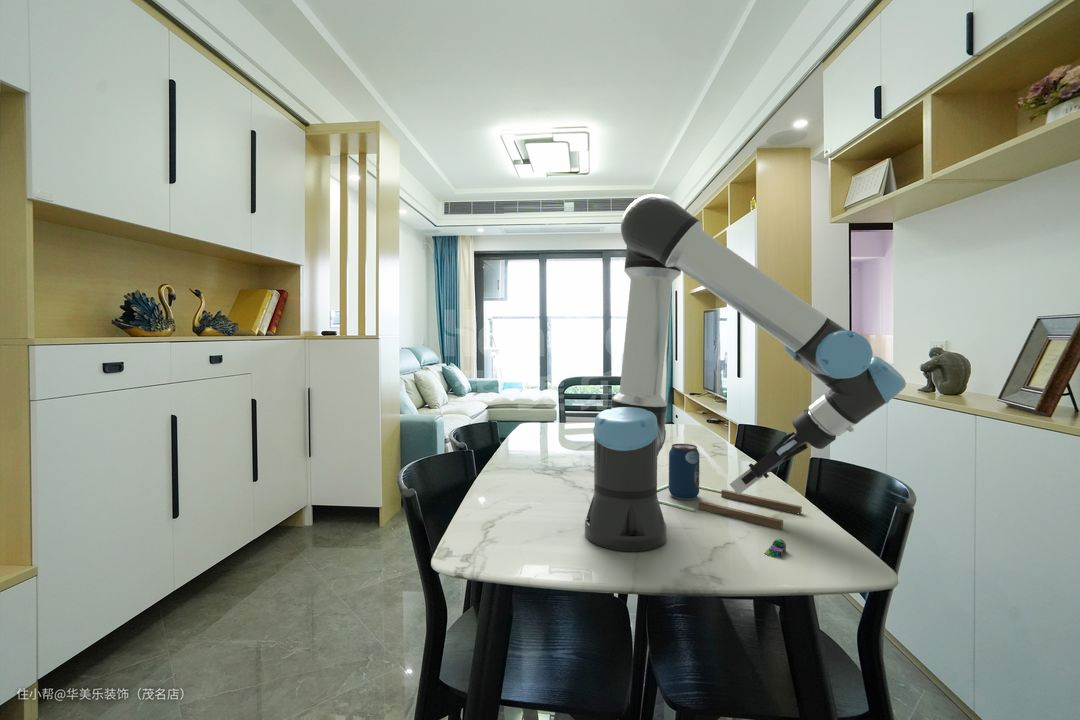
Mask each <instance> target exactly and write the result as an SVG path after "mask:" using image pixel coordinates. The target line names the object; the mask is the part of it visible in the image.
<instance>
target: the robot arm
mask: <svg viewBox="0 0 1080 720" xmlns="http://www.w3.org/2000/svg"><path fill="white" fill-rule="evenodd" d="M620 222H621V224H620V232H621V236H622V240H623V242H624V243H625V245H626V252H625V261H624V272H625V274H626V275H627V276H628V277H629V279H630V283H629V292H628V293H629V295H628V303H627V304H628V305H627V315H626V324H625V332H624V333H625V334H624V344H623V345H624V346H623V352H622V353H623V354H622V364H621V374H620V383H619V384H620V385H619V386H620V387H619V391H618V392H616V394H615V395H613V396H612V397H611V404H610V409H609V408H608V409H604V410H602V411H600V412H599V413H598V414H597V415H596V416H595V420H594V426H593V430H592V431H593V437H594V439H593V440H594V441H593V443H594V444H593V445H594V446H593V449H594V452H593V455H594V457H593V460H594V461H593V465H594V466H593V470H594V473H593V474H594V475H593V478H594V479H593V480H594V481H593V483H594V485H593V486H594V487H593V488H594V492H593V495H592V499H591V502H590V505H589V507H588V512H587V513H586V518H585V519H584V520H585V521H584V535H585V538H587V539H588V541H590V542H591V543H592V544H594V545H597V546H600V547H602V548H605V549H609V550H613V551H620V552H645V551H651V550H654V549H657V548H660V547H661V546H662V545H664V544H665V543H666V541H667V524H666V521H665V518H664V515H663V512H662V509H661V505H660V503H659V501H658V500H659V498H658V491H657V488H658V457H659V453H660V452H661V450H662V449H663V447H664V444H665V441H666V435H667V433H666V432H667V431H666V430H667V429H666V418H667V408H668V407H667V406H668V404H667V402H666V401H665V399H664V398H663V397H662V394H661V393H662V382H663V375H664V373H663V372H664V365H665V355H666V346H667V345H666V343H667V336H668V335H667V334H668V328H669V327H668V325H669V317H670V306H671V298H672V297H671V296H672V288H673V287H672V286H673V282H674V281H675V280H676V279H677V278H679V276H681V275H682V272H683V274H685V275H687V276H688V277H690V278H691V279H692V280H694V281H695V282H697V284H699V285H701V287H704V288H705V289H707V290H708V291H709V292H711V293H712V294H713V295H714V296H715V297H717V298H718V299H720V300H721V301H723V302H724V303H726V304H727V305H728V306H730V307H732V309H734V310H735V311H736V312H738V313H739V314H741V315H742V316H744V317H745V318H746V319H747V320H749V321H751V322H752V323H753V324H755V325H756V326H758V328H760V329H762V330H763V331H764V332H766V333H768V335H770V336H772V337H773V338H775V340H777V341H778V342H780V343H781V344H782V345H784V346H783V348H784V350H785V352H786V353H787V354H788V355H789V356H791V357H792V358H793V360H794V361H795V362H798V363H799V365H801V366H802V367H804V368H805V369H806V370H807V371H808V372H810V373H811V374H812V375H814V377H816V378H817V379H818V380H819V381H821V382H822V383H823V384H824V385H825V386H826V387H827V388H829V390H828V391H827V392H826V393H824V394H823V395H821V396H820V397H818V398H817V399H816V400H815V401H813V402H812V403H811V404H809V406H808V409H804V410H803V411H801V412H800V413H799V414H798V415H796V416H795V417H794V418H793V419H792V426H793V428H794V429H795V430H796V432H794V431H793V432H791V433H788V434H786V435H785V436H784V437H783V438H782V440H780V442H778V443H777V444H776V445H775V446H774V447H773V448H772V449H771V450H770V451H769V452H767V453H766V454H765V455H764V456H762V457H761V458H760V459H759V460H758V461H756V462H755V463H754V464H753V463H750V464H748V465H747V466H748V468H749V469H747V470H745V471H744V472H743V473H742V474H741V475H740V476H738V477H737V478H736V479H734V480H733V481H731V483H729V485H730V487H731V488H732V489H733V490H734V492H736V493H737V494H740V493H743V492H745V491H746V490H747V489H749V488H750V487H752V485H754V484H755V483H756V482H758V481H759V480H761V479H762V478H763V477H764V478H765V479H768V478H769V477H770V475H769V473H771V472H772V471H773V470H774V469H776V468H777V467H778V466H780V465H781V464H783V463H784V462H786V461H788V460H790V459H792V458H793V457H796V456H797V455H798V454H800V453H802V452H804V451H806V450H807V449H808V448H809V447H808V444H809V445H810V446H811V447H813V448H815V449H818V450H823V449H824V448H826V447H828V446H829V445H831V443H833V442H835V441H836V439H837V437H841V436H842V435H843V434H845V433H846V432H847V431H848V432H849V433H853V432H854V430H855V429H854V426H855V425H858V424H859V423H860V422H861V421H862V420H864V419H865V418H867V417H868V416H869V415H871V414H872V413H875V411H877V410H878V409H880V408H881V407H883V406H884V405H887V404H888V403H889V402H890V401H891V400H893V399H894V398H895V397H896V396H897V395H898V394H899V393H901V392H902V391H903V390H904V389H906V385H907V382H906V380H905V378H904V376H902V374H901V373H900V372H899V371H898V370H897V369H896V368H894V367H893V366H892V365H891V364H890V363H889V362H887V361H885V360H883V358H881V357H880V356H876V355H874V354H873V348H872V346H871V344H870V342H869V340H868V339H867V338H865V337H864V336H863V335H862V334H860V333H858V332H856V331H853V330H848V329H845V328H844V327H842V326H841V325H840V324H838V323H836V322H835V321H833V320H832V319H830V318H829V317H828V316H826V315H825V314H824V313H822V312H821V311H820V310H818V309H817V308H815V307H813V306H812V305H811V304H809V303H807V302H806V301H805V300H804V299H802V298H801V297H799V296H798V295H796V294H795V293H793V292H792V291H791V290H790V289H788V288H786V287H785V286H783V285H782V284H780V283H779V282H778V281H776V280H775V279H773V278H772V277H770V276H769V275H767V274H766V273H764V272H763V271H762V270H760V269H759V268H757V267H756V266H754V265H753V264H751V263H750V262H749V261H748V260H746V259H745V258H743V257H742V256H740V255H739V254H737V253H736V252H735V251H733V250H731V249H730V248H729V247H727V246H725V244H723V243H721V242H720V241H719V240H717V239H715V237H713V236H712V235H710V234H709V233H707V232H705V231H704V229H703V224H702V221H700V220H699V219H698V218H696V216H693V215H692V214H691V213H689V212H688V211H687V210H685V209H684V208H683V207H682V206H681V205H679V204H678V203H677V202H676V201H674V200H672V199H671V198H670V197H667V196H665V195H662V194H658V193H655V194H654V193H651V194H650V193H649V194H646V195H643V196H641V197H638V198H637V199H635V200H633V202H631V203H630V204H629V205H628V206H627V208H626V209H625V212H624V213H623V215H622V219H621V221H620ZM873 355H874V356H873Z"/></svg>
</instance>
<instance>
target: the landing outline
mask: <svg viewBox="0 0 1080 720" xmlns="http://www.w3.org/2000/svg"><path fill="white" fill-rule="evenodd" d="M667 488H669V482H668V483H667V484H664V485H662V486H658V487H657V492H660V491H662V490H665V489H667ZM699 489H702V490H705V491H711V492H715V493H716V492H717V493H719V494H721V491H722V490H723V489H722V490H721V489H718V488H717V489H716V488H712V487H708V486H703V485H699ZM658 501H659V504H663V505H665V506H670V507H673V508H677V509H682V510H686V511H690V512H695V511H696V510H695V508H693V507H689V506H686V505H681V504H679V503H673V502H671V501H670V502H669V501H666V500H662V499H658Z"/></svg>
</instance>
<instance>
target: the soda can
mask: <svg viewBox="0 0 1080 720" xmlns="http://www.w3.org/2000/svg"><path fill="white" fill-rule="evenodd" d="M668 483H669V487H668V492H669V493H670V496H671V497H673V498H675V499H677V500H682V501H690V500H691V501H692V500H695V499H696V498H697V497H698V496H699V493H700V488H699V486H700V453H699V450H698V446H697V445H695V444H689V443H674V444H672V445H671V448H670V450H669V451H668Z"/></svg>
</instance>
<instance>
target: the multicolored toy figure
mask: <svg viewBox="0 0 1080 720" xmlns="http://www.w3.org/2000/svg"><path fill="white" fill-rule="evenodd" d="M786 552H787V543H786V542H785V540H783V539H782V538H776V539H775V540H774V541H773V542H772V544H771V545H770V547H769V548H768V549H766V550H765V552H764V553H763V554H765V555H764V556H766V555H767V556H766V557H770V556H771V558H775V557H778V558H782V557H783V556H784V555H785V553H786Z"/></svg>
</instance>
